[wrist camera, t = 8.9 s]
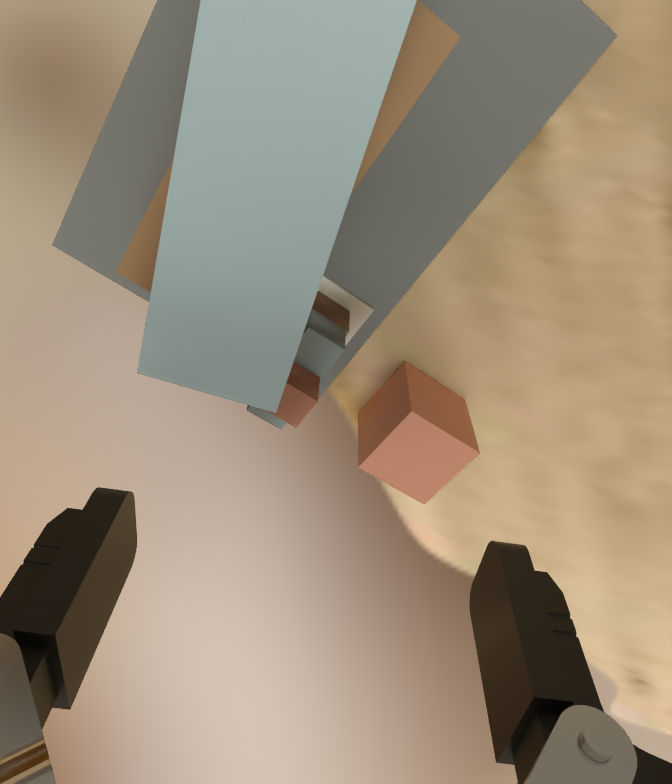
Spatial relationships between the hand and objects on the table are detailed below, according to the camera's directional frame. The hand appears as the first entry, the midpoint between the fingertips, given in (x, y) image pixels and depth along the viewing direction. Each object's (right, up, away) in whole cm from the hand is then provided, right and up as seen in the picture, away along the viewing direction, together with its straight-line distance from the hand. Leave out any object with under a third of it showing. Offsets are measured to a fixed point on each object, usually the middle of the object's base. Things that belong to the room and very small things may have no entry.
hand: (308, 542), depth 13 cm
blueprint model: (-1, +6, +18) cm, 20 cm away
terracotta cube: (+5, +3, +22) cm, 22 cm away
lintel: (-1, +12, +8) cm, 14 cm away
